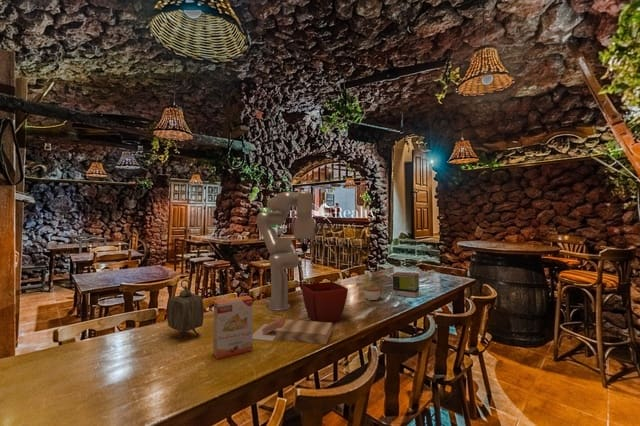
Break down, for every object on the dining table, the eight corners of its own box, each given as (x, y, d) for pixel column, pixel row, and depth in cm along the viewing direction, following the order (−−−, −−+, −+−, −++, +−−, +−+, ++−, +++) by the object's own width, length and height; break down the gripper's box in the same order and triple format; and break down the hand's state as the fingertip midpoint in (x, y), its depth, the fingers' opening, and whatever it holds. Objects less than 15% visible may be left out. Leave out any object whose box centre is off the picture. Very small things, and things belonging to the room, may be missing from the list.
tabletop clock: (203, 336, 132) (203, 280, 132) (184, 343, 125) (184, 283, 125) (184, 329, 140) (185, 276, 141) (165, 336, 133) (166, 279, 133)
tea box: (419, 295, 201) (419, 273, 202) (415, 298, 193) (415, 275, 193) (397, 292, 209) (397, 271, 210) (392, 295, 201) (392, 273, 201)
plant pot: (332, 311, 167) (332, 281, 168) (348, 322, 150) (348, 288, 150) (300, 315, 160) (300, 284, 160) (313, 327, 142) (313, 292, 143)
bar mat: (248, 339, 129) (248, 338, 129) (264, 324, 147) (264, 323, 147) (272, 341, 127) (272, 340, 127) (285, 326, 145) (285, 325, 145)
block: (264, 334, 133) (261, 329, 133) (269, 329, 139) (266, 324, 139) (281, 326, 132) (278, 321, 132) (285, 321, 137) (283, 316, 138)
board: (276, 339, 129) (276, 330, 129) (286, 327, 142) (286, 319, 142) (326, 344, 124) (326, 334, 124) (331, 331, 138) (331, 322, 138)
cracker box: (216, 360, 110) (217, 303, 110) (213, 354, 115) (213, 299, 116) (253, 351, 118) (253, 298, 118) (248, 345, 123) (248, 294, 123)
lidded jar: (362, 301, 187) (362, 286, 187) (364, 297, 197) (364, 282, 197) (379, 302, 183) (379, 287, 184) (381, 298, 194) (381, 283, 194)
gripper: (288, 215, 150) (288, 252, 150) (317, 215, 147) (317, 253, 147) (292, 215, 158) (292, 250, 158) (320, 215, 155) (320, 251, 154)
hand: (304, 251), depth 152 cm, fingers closed
